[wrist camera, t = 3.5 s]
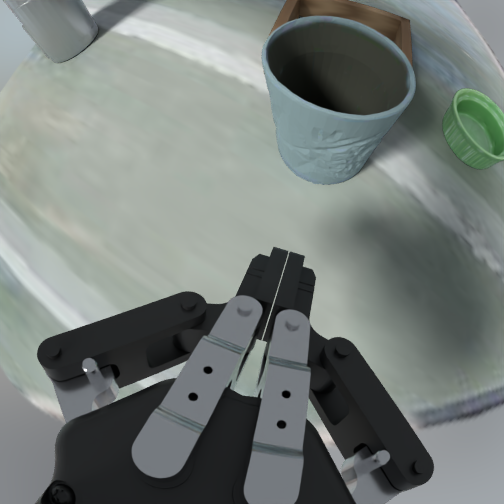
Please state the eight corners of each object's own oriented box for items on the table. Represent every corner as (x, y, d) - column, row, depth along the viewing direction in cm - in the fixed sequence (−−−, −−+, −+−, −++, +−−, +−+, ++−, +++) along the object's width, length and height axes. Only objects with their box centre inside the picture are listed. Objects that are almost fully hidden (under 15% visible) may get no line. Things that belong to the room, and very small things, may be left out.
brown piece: (263, 73, 29) (262, 48, 25) (292, 10, 31) (292, -11, 27) (400, 111, 27) (412, 90, 24) (401, 39, 30) (409, 20, 26)
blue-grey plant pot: (375, 195, 26) (433, 128, 14) (266, 192, 27) (260, 113, 15) (363, 107, 28) (394, 24, 16) (266, 102, 29) (261, 11, 17)
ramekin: (423, 112, 27) (439, 90, 23) (470, 104, 27) (486, 86, 23) (462, 182, 26) (484, 166, 22) (505, 166, 26) (525, 151, 21)
